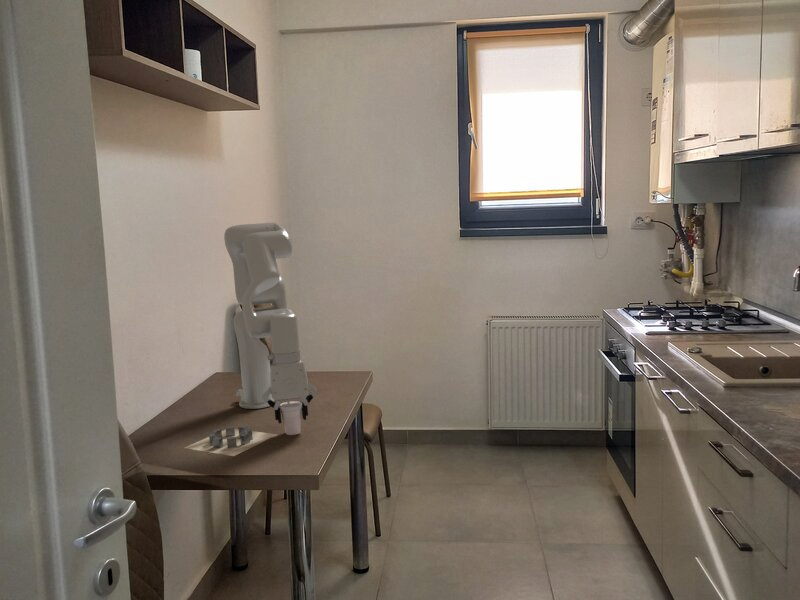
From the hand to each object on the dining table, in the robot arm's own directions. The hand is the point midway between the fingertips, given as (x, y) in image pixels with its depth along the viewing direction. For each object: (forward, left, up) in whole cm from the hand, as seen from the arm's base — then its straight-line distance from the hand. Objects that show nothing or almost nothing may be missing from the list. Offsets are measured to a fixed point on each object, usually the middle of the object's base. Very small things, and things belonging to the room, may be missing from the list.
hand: (292, 419), depth 209 cm
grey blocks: (-12, -12, -4) cm, 17 cm away
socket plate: (-12, -12, -5) cm, 18 cm away
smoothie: (0, 0, -5) cm, 5 cm away
